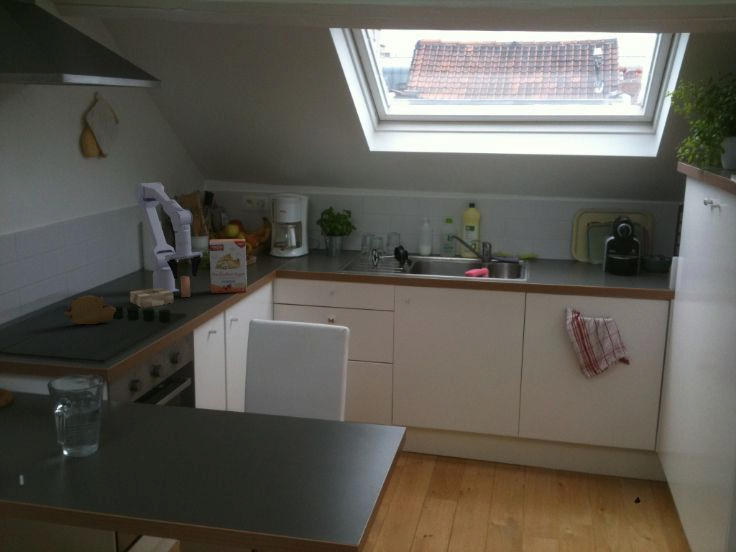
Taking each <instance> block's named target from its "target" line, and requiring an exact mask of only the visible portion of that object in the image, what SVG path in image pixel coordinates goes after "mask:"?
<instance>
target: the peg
mask: <svg viewBox="0 0 736 552" xmlns="http://www.w3.org/2000/svg"><path fill="white" fill-rule="evenodd" d="M190 278H191V277H190V275H181V276H180V291H181V292H180V293H181V298H182V297H189V298H191V297H190V296H192V295H191V294H192V293H191V280H190Z"/></svg>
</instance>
